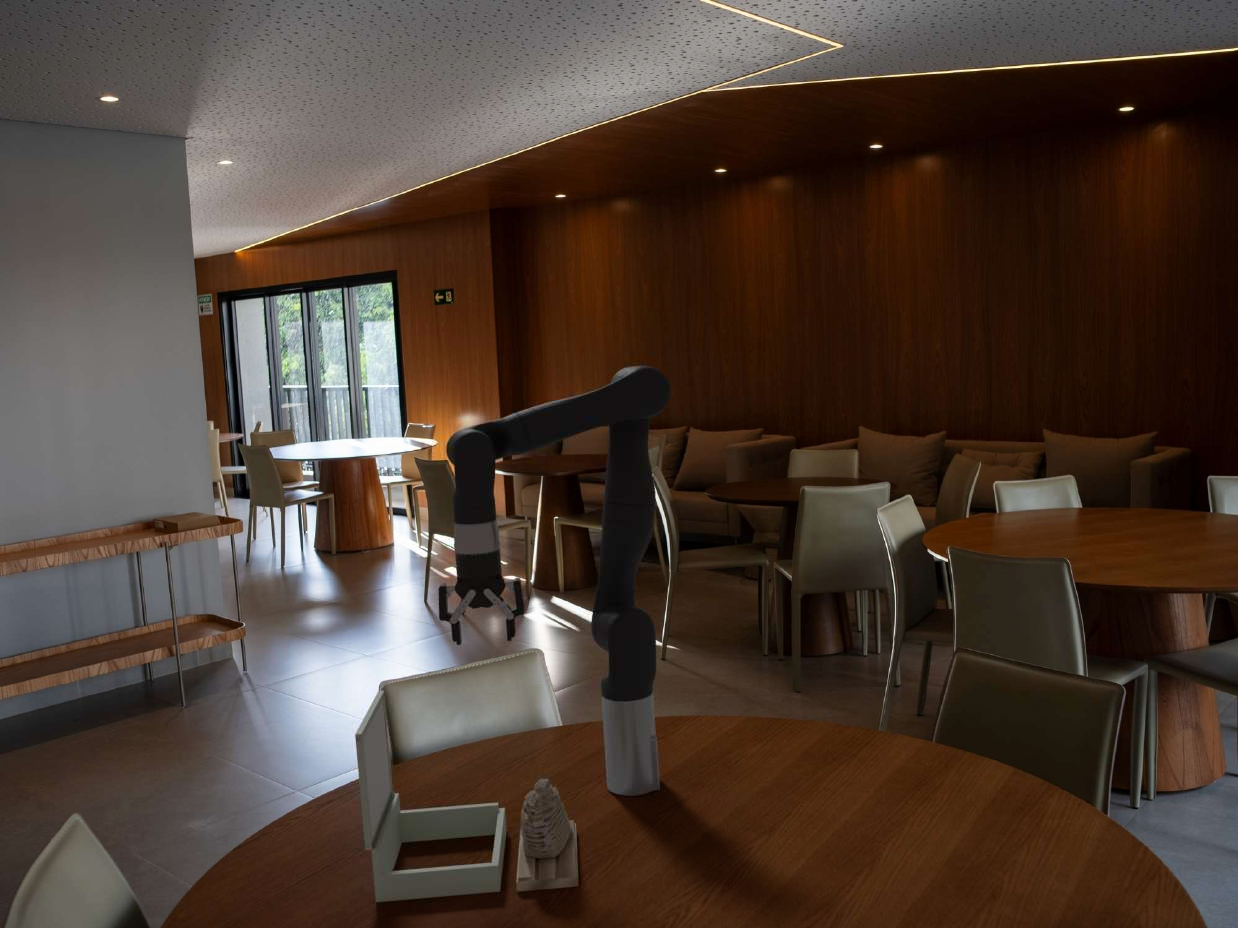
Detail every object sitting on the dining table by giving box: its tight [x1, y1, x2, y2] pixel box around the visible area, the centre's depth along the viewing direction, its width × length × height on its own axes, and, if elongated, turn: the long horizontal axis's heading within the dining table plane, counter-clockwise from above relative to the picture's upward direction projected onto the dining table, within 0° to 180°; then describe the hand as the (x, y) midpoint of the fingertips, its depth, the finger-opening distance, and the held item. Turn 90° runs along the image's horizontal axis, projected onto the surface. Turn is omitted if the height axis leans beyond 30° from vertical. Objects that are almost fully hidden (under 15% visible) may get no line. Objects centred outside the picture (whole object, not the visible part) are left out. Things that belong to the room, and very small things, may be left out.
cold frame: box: [354, 690, 507, 903], centre depth 154 cm, size 19×19×25 cm
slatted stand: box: [516, 819, 580, 892], centre depth 155 cm, size 9×17×2 cm, turn 3°
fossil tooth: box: [520, 777, 572, 859], centre depth 155 cm, size 12×6×15 cm
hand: (484, 641), depth 170 cm, fingers open, 8 cm apart
